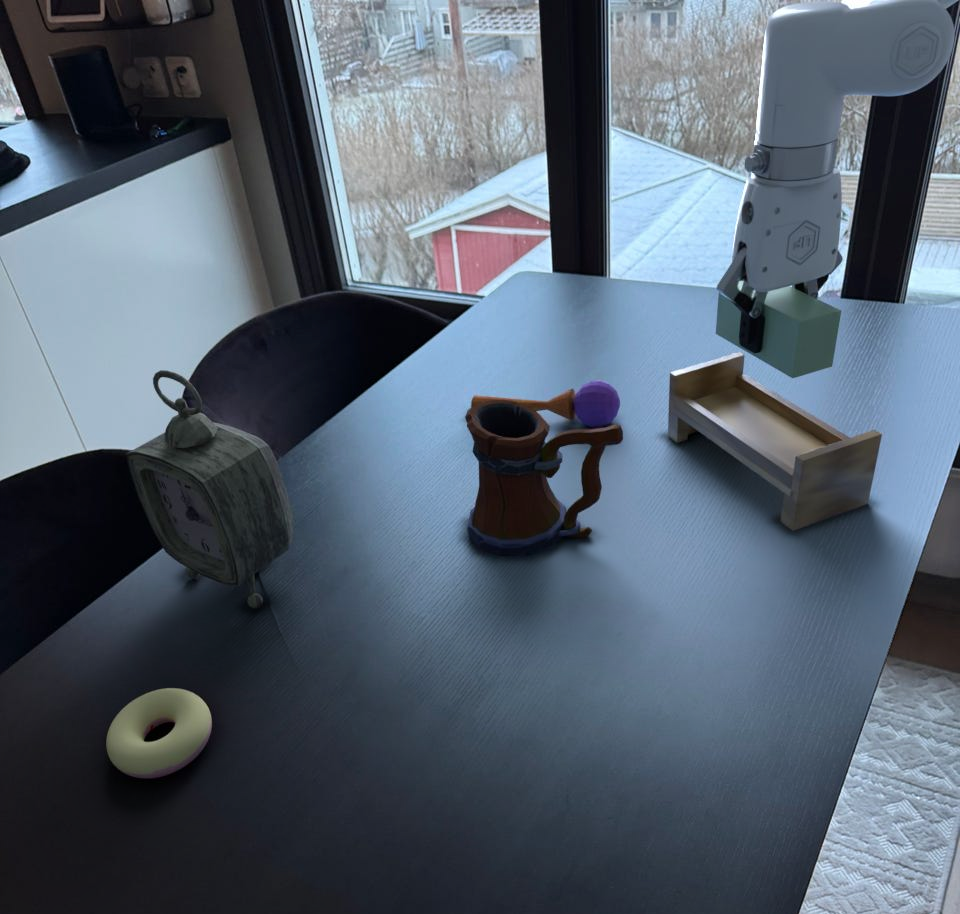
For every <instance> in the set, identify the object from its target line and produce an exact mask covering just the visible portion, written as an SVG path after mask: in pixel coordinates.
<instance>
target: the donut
mask: <svg viewBox="0 0 960 914" xmlns="http://www.w3.org/2000/svg"><path fill="white" fill-rule="evenodd" d="M212 720H213V719H212V713H211V711H210V709H209V707H208V705H207V703H206V702H205V701H204V700H203V698H201V697H200V696H199V695H198V694H196V693H194V692H193V691H190V690H187V689H183V688H175V687H167V688H160V689H156V690H152V691H150V692H149V691H148V692H146V693H145V694H142V695H140V696H138V697H137V698H135V699H133V700H132V701H130V702H129V703H127V705H125V706H124V707H123V708H122V709H121V710H120V711H119V712H118V713H117V714H116V716H115V717H114V719H113V720H112V722H111V724H110V726H109V728H108V731H107V735H106V740H105V741H106V742H105V743H106V744H105V745H106V752H107V756H108V758H109V759H110V761H111V763H112V765H113V766H114V767H115V768H116V769H117V770H119V771H120V772H121V773H123V774H125V775H127V776H130V777H132V778H137V779H156V778H157V779H158V778H161V777H165V776H169V775H171V774H174V773H175V772H178V771H180V770H181V769H183V768H185V767H186V766H188V765H189V764H190V763H192V762H193V761H194V760H195V759H196V758H197V757H198V756H199V755H200V754H201V752H203V750H204V748H205V746H206V745H207V743H208V742H209V739H210V737H211V734H212V728H213V721H212ZM167 723H174V727H173V728H172V729H171V730H170V732H169V733H168V734H166V735H165V736H163V737H161V738H159V739H157V740H153V741H145V740H146V739H145V738H146V737H147V735H148V734H149V733H150V732H151V731H152V730H153V729H156V727H158V726H160V725H163V724H167Z"/></svg>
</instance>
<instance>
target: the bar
mask: <svg viewBox="0 0 960 914" xmlns="http://www.w3.org/2000/svg"><path fill="white" fill-rule="evenodd" d="M743 282H744V281H739V283H738V289H739V290H740V291H741V289H742V286H743ZM754 294H755V290H753V293H752V297H751V300H753V297H754ZM716 311H717V312H716V323H715V335H717V336H718V337H720V338H722V339H724V340H726V341H727V342H729V343H730V344H732V345H734V346H736V347H738V348H739V349H741V350H743V351H744V352H745V353H746V352H747V354H749V355H751V356H754V357H755V358H757V359H758V360H760V361H762V362H763V363H765V364H767V365H768V366H770V367H772V368H774V369H775V370H777V371H779V372H781V373H782V374H784V375H786V376H787V377H789V378H791V379H796V378H800V377H802V376H805V375H810V374H812V373H816V372H819V371H823V370H825V369H830V368H832V367H833V365H834V358H835V353H836V345H837V340H838V333H839V328H840V323H841V322H840V321H841V315H842V310H841V309H839V308H837V307H835V306H833V305H831V304H829V303H827V302H824V301H823V300H820V299H818V298H817V299H816V298H814V297H812V296H809V295H807V294H805V293H803V292H801V291H799V290H797V289H794V288H792V286H788V287H784V288H780V289H777V290H772V291H768V293H767V296H766V299H765V302H764V305H763V308H762V311H761V314H760V315H762V316H764V317H765V323H764V332H763V341H762V350H761V351H760V353H756V354H754V353H753V352H751V351H749V350H747V349H746V348H744V347H742V346H741V345H740V344H739V330H740V319H741V311H739V310H738V309H737V308H736V306H735V305H734V304H733V303H732V302H731V301H730V300H729V299H728V298H726V297H725V296H723V295H722V294H721V293H719V292H718V295H717V310H716Z"/></svg>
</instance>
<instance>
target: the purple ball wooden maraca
mask: <svg viewBox="0 0 960 914" xmlns="http://www.w3.org/2000/svg"><path fill="white" fill-rule="evenodd" d="M501 399H503V400H508V401H514V402H517V403H519V404H521V403H522V404H524V405H526V406H528V407H529V408H531V409H533V410H535V411H536V412H541V411H549V412H551V413H553V414H555V415H557V416H560V417H561V418H564V419H567V420H568V421H571V422H574V421H575V419H576V418H577V419H578V420H579V422H581V424H583V425H585V426H588V427H590V428H603V427H604V426H606V425H608V424H611V423H612V422H613V420H614V419H616V417H617V415H618V413H619V410H620V407H621V399H620V397H619V393H618V391H617V389H616V388H615V387H614V386H613V385H612V384H611V383H609V382H606V381H604V380H592V381H589V382H586V383H584V384H582V386H581V387H579V389H578V390H577V391H575V389H574V388H573V387H572V388H570V389H568V390H565V391H564V392H562V393H561V394H559V395H556V396H555V397H553V398H550V399H549V400H535V399H525V398H513V397H512V398H511V397H502V396H501V397H500V396H488V395H477V394H476V395H473V396H472V398H471V402H470V408H471V407H473V406H475V405H477V404H479V403H482V402H484V401H490V400H501Z"/></svg>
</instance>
